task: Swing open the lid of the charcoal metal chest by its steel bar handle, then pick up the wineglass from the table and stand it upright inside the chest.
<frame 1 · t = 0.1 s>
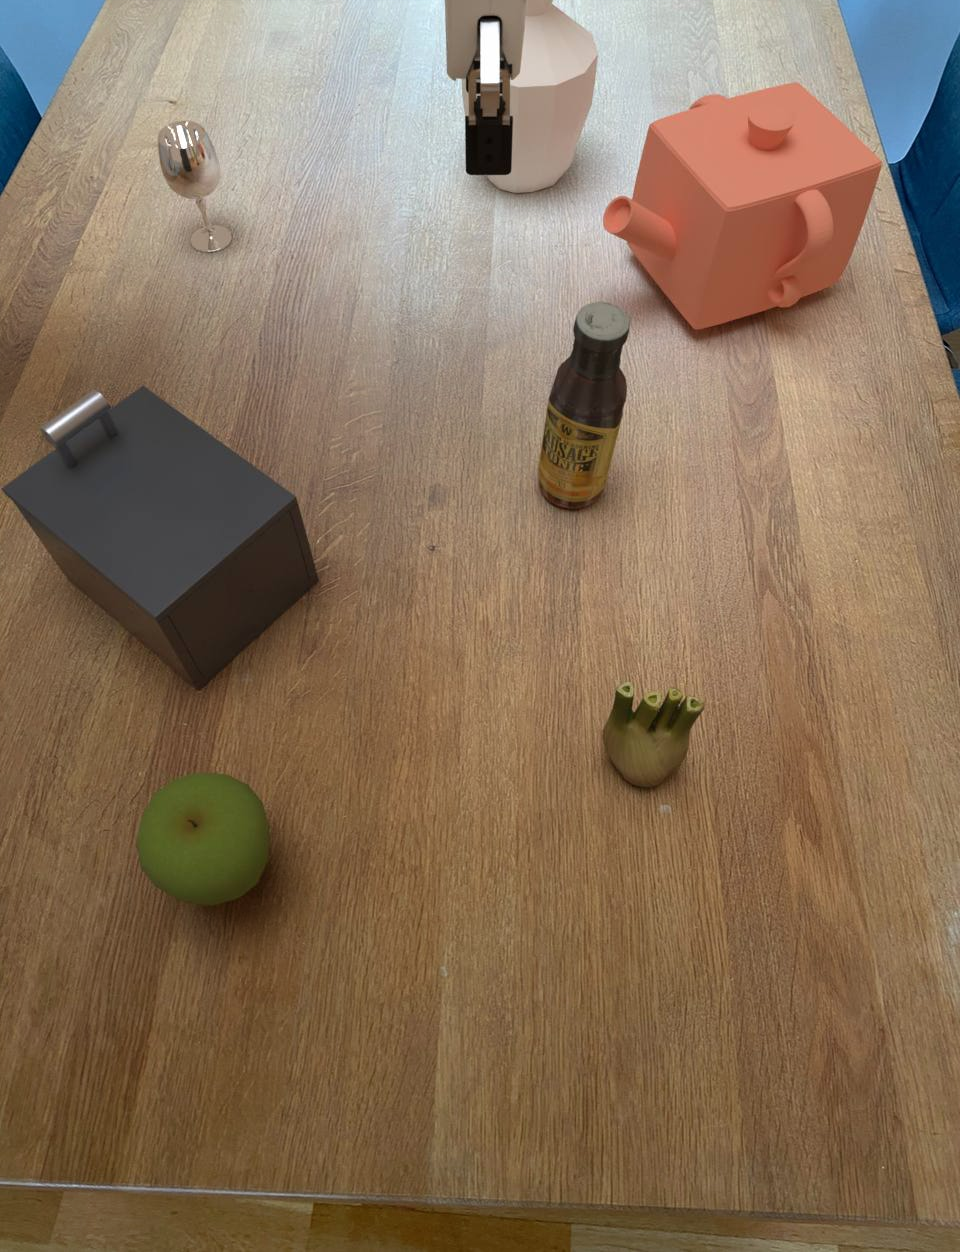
hand: (487, 130, 69), 27 cm above the table, tool pointing down, fingers open, 9 cm apart
teapot: (697, 286, 100), on the table
sauce bottle: (572, 488, 86), on the table
chest: (193, 579, 81), on the table
apple: (231, 869, 69), on the table
fennel bulb: (638, 760, 73), on the table
wineglass: (211, 240, 103), on the table
lid: (141, 477, 69), point 13 cm above the table, hinge at 0.0°
vase: (523, 174, 109), on the table
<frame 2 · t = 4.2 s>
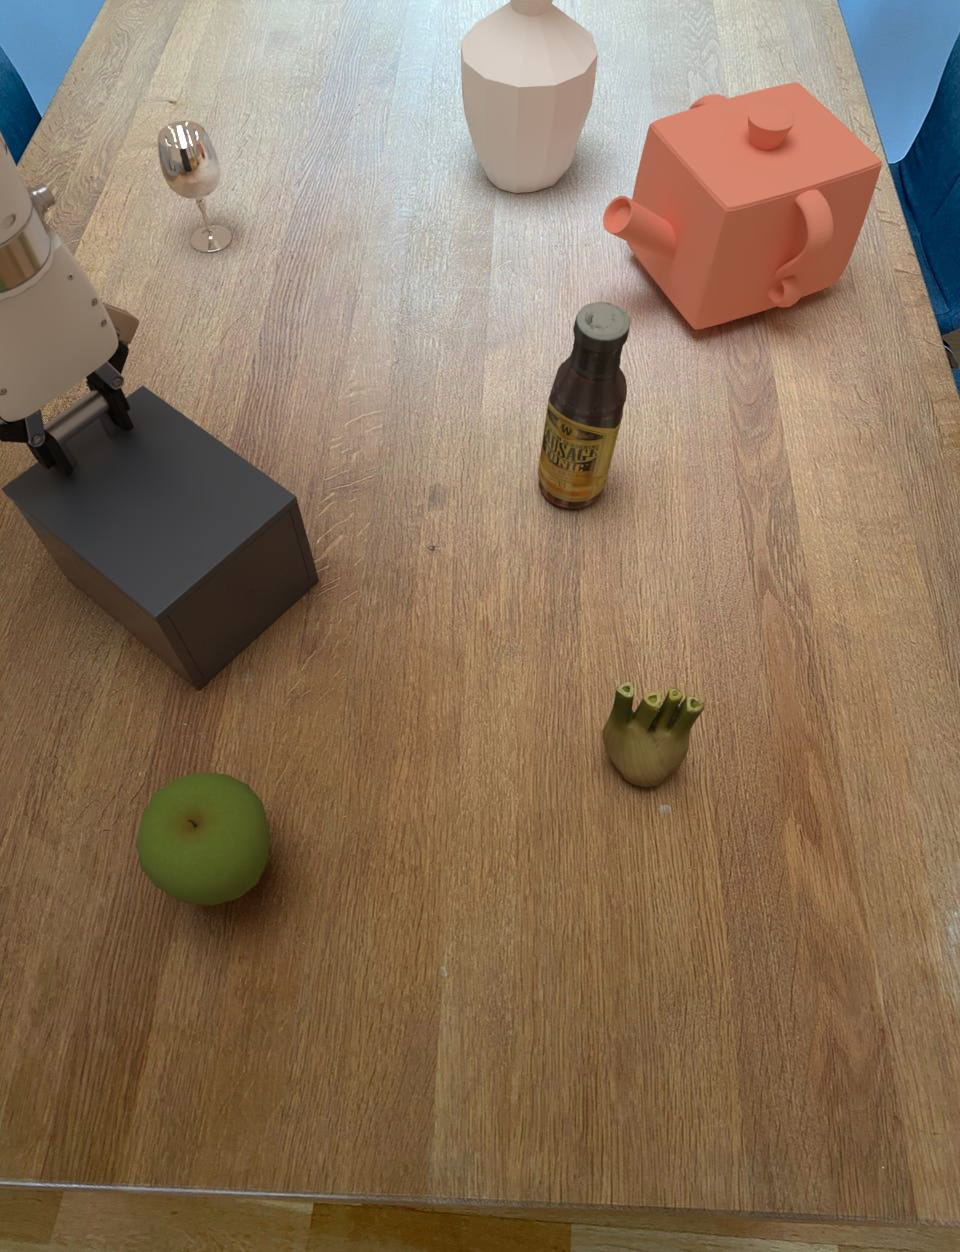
hand: (88, 441, 72), 13 cm above the table, tool pointing down, fingers closed on lid, 5 cm apart
lid: (141, 477, 69), point 13 cm above the table, hinge at 0.0°, touching gripper
everything else where it was.
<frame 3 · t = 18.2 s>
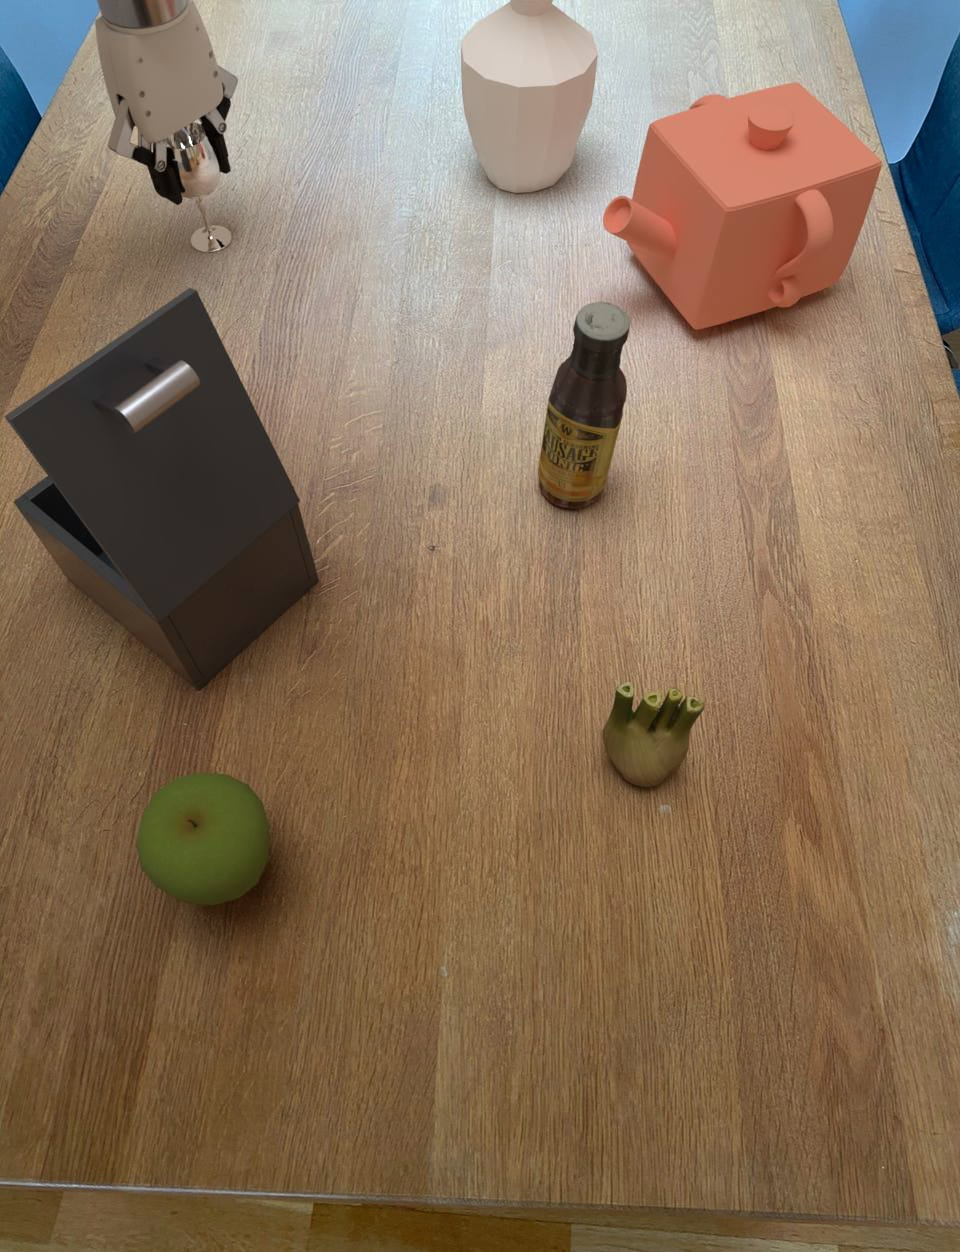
hand: (194, 181, 97), 7 cm above the table, tool pointing down, fingers closed on wineglass, 5 cm apart
wineglass: (211, 240, 103), on the table, touching gripper
lid: (192, 474, 61), point 20 cm above the table, hinge at 73.2°
everything else where it was.
when the fingers open (8 cm above the table, at t = 29.3 s): wineglass stays where it is, resting on chest.
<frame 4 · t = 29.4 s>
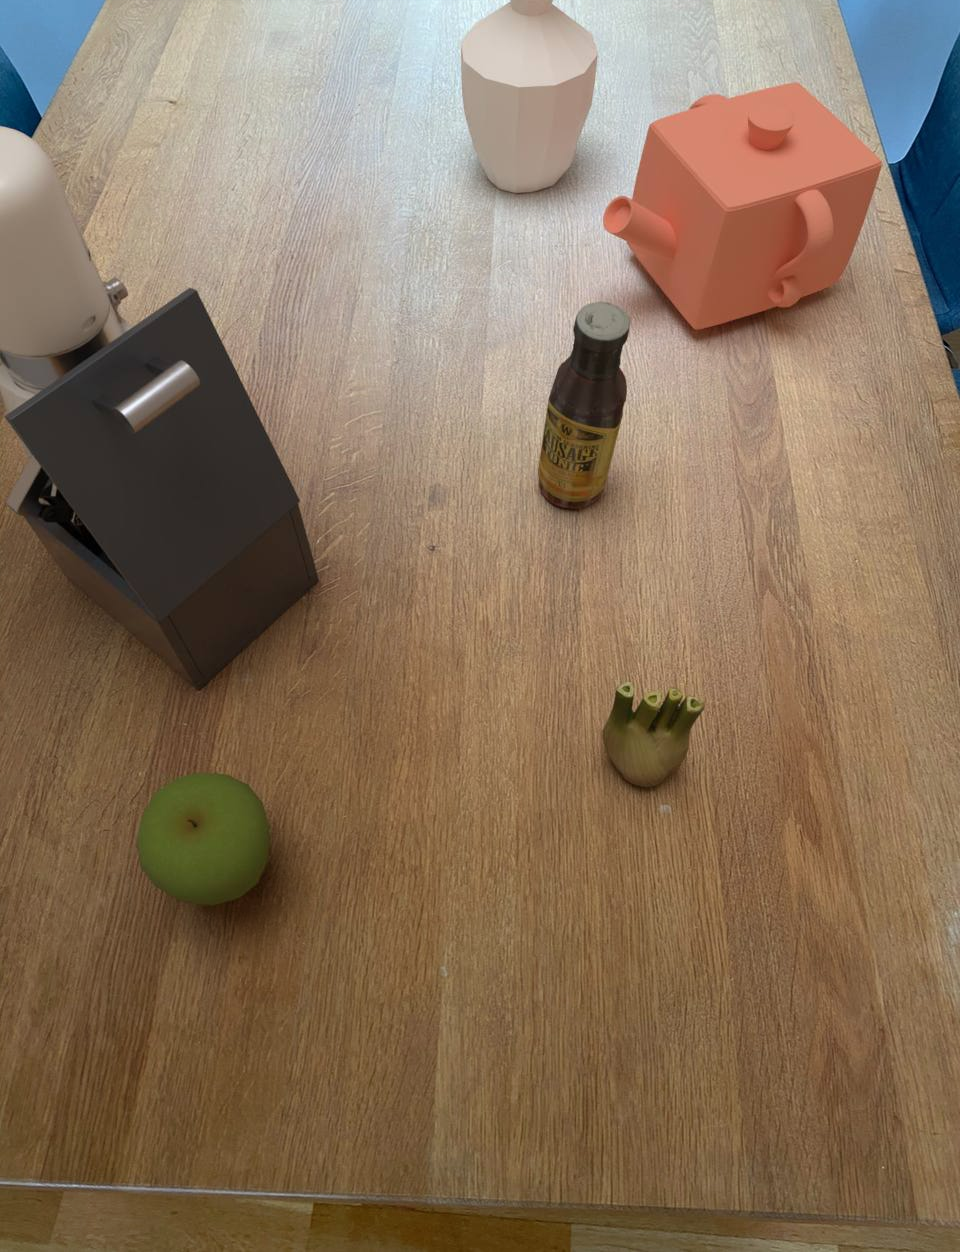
hand: (142, 503, 74), 8 cm above the table, tool pointing down, fingers open, 8 cm apart
wineglass: (171, 559, 81), point 1 cm above the table, touching chest
everything else where it was.
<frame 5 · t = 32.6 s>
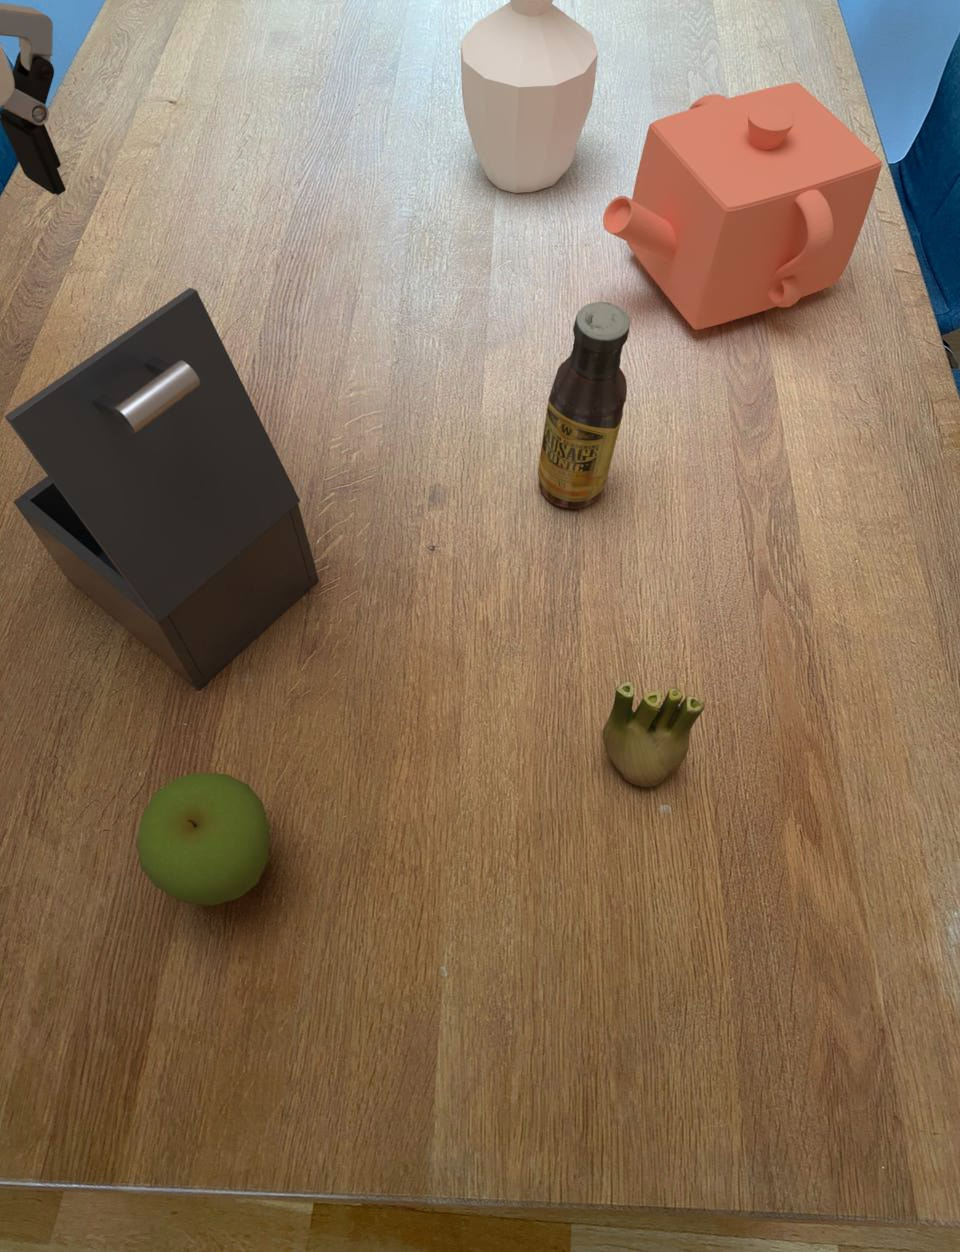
nothing on the table moved.
at the end: lid at +73° (first picture: +0°); wineglass inside the target area in the chest (2.5 cm from its centre), point 0.7 cm above the chest's base; wineglass tilted 0° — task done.
